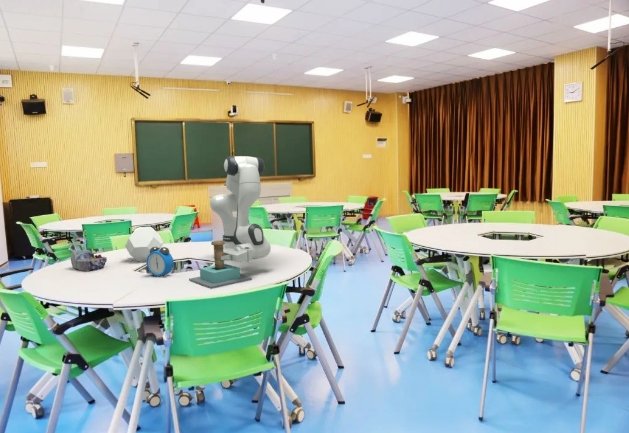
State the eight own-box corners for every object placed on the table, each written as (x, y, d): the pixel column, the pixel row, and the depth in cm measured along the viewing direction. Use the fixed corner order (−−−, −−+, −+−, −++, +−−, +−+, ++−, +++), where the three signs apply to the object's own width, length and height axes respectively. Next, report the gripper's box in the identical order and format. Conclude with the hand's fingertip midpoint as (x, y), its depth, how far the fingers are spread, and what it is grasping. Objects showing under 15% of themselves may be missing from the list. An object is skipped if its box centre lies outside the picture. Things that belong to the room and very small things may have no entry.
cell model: (84, 247, 267) (109, 249, 259) (85, 265, 268) (110, 268, 260) (64, 251, 255) (89, 253, 247) (65, 270, 256) (91, 273, 248)
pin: (211, 276, 221) (208, 241, 219) (222, 274, 225) (220, 239, 223) (217, 278, 216) (215, 243, 214) (229, 276, 221) (227, 241, 219)
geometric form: (140, 265, 263) (137, 230, 261) (121, 261, 275) (119, 228, 273) (169, 258, 279) (167, 226, 277) (151, 255, 291) (148, 224, 289)
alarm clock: (147, 276, 235) (144, 247, 233) (155, 273, 241) (153, 245, 239) (167, 277, 230) (164, 248, 228) (175, 274, 236) (173, 246, 234)
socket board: (189, 280, 222) (188, 268, 222) (228, 272, 237) (227, 261, 236) (211, 288, 206) (210, 275, 205) (251, 279, 220) (251, 267, 219)
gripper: (230, 244, 236) (206, 248, 227) (252, 249, 220) (227, 253, 211) (231, 256, 236) (207, 260, 227) (253, 261, 221) (228, 266, 212)
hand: (217, 257), depth 219 cm, fingers closed on pin, 4 cm apart
